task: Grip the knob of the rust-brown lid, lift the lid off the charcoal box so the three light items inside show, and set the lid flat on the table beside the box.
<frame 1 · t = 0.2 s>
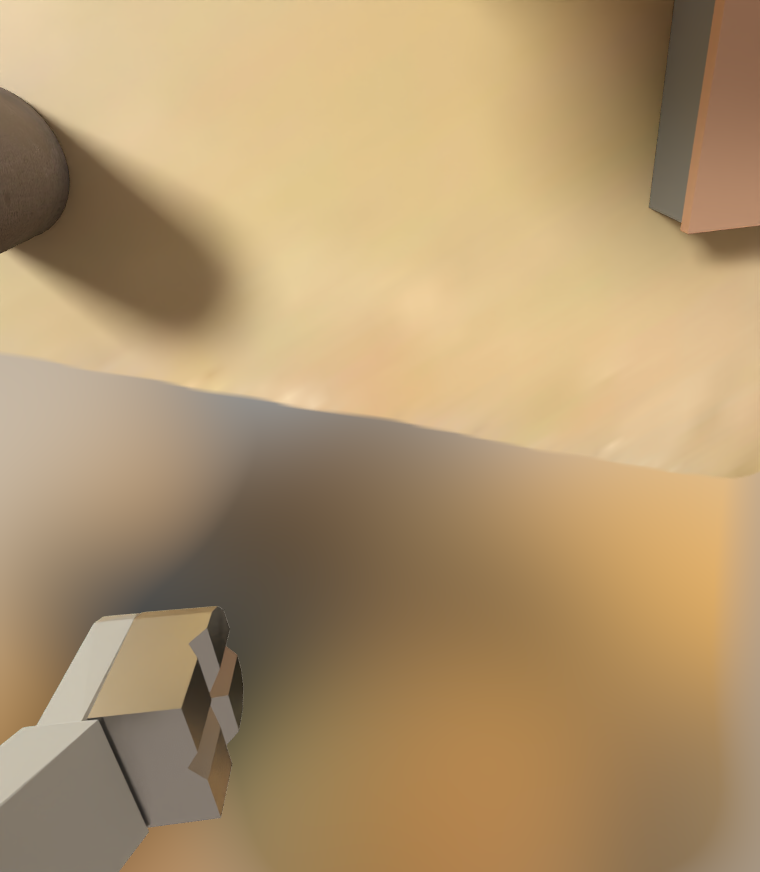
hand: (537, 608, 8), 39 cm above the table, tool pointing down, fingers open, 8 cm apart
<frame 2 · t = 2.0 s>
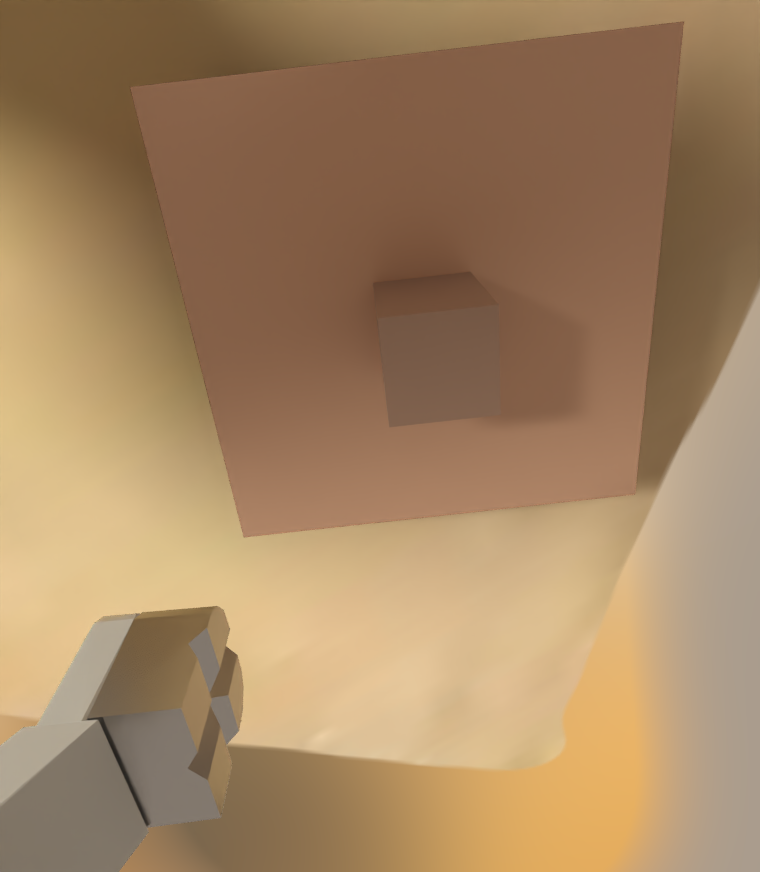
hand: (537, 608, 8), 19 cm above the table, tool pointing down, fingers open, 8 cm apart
lid: (421, 316, 20), point 5 cm above the table, touching storage box
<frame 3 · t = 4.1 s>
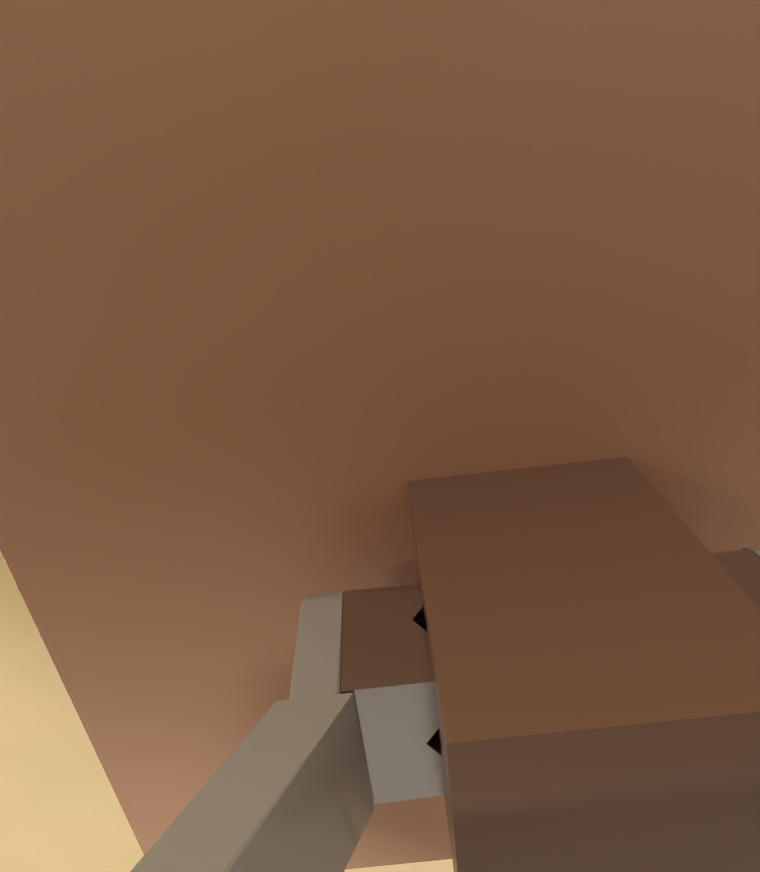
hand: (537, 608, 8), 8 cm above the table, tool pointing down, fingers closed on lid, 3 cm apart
lid: (502, 519, 10), point 5 cm above the table, touching gripper, storage box
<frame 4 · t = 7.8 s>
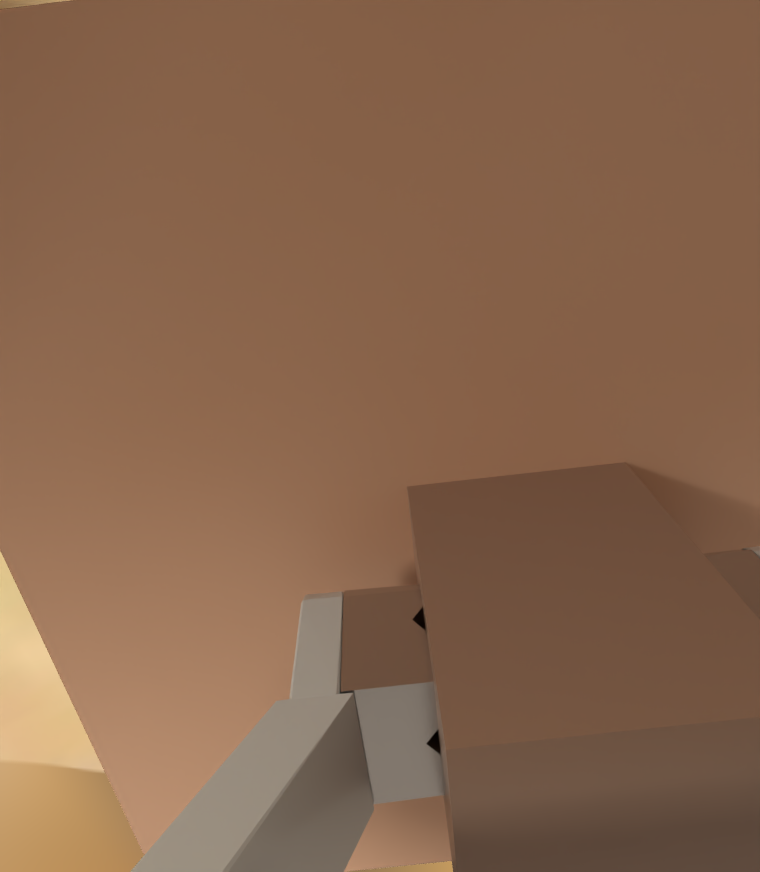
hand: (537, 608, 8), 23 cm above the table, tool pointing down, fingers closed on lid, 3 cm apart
lid: (501, 523, 10), point 21 cm above the table, touching gripper
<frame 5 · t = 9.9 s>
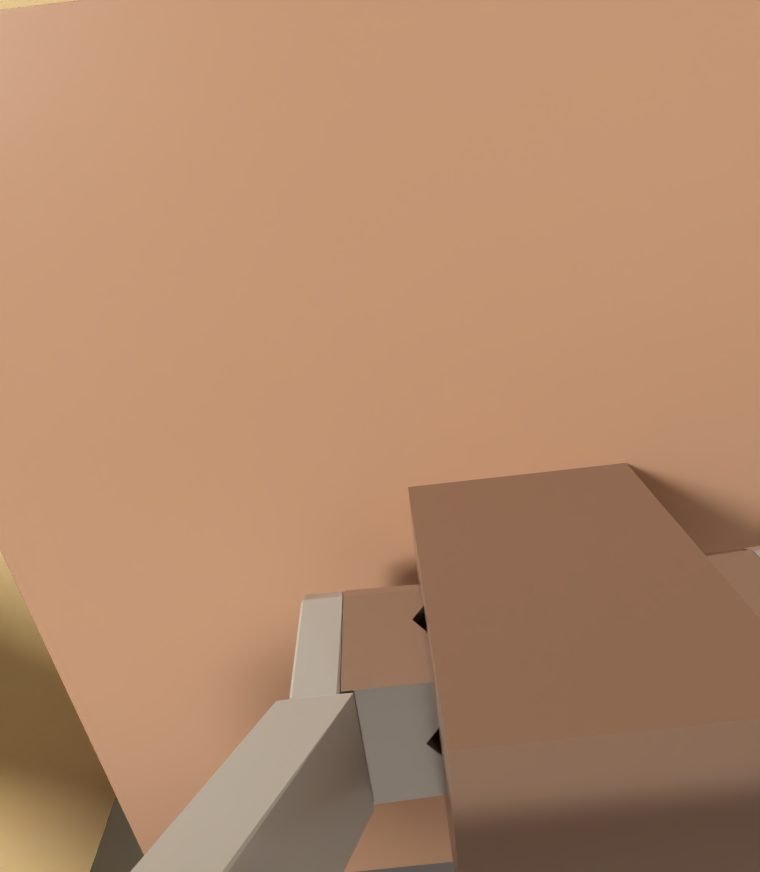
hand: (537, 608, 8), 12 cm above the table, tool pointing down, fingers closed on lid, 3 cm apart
lid: (502, 524, 10), point 10 cm above the table, touching gripper
storage box: (308, 833, 30), on the table
when the fingers open (4 cm above the table, at t = 11.8 s): lid drops 2 cm, on the table.
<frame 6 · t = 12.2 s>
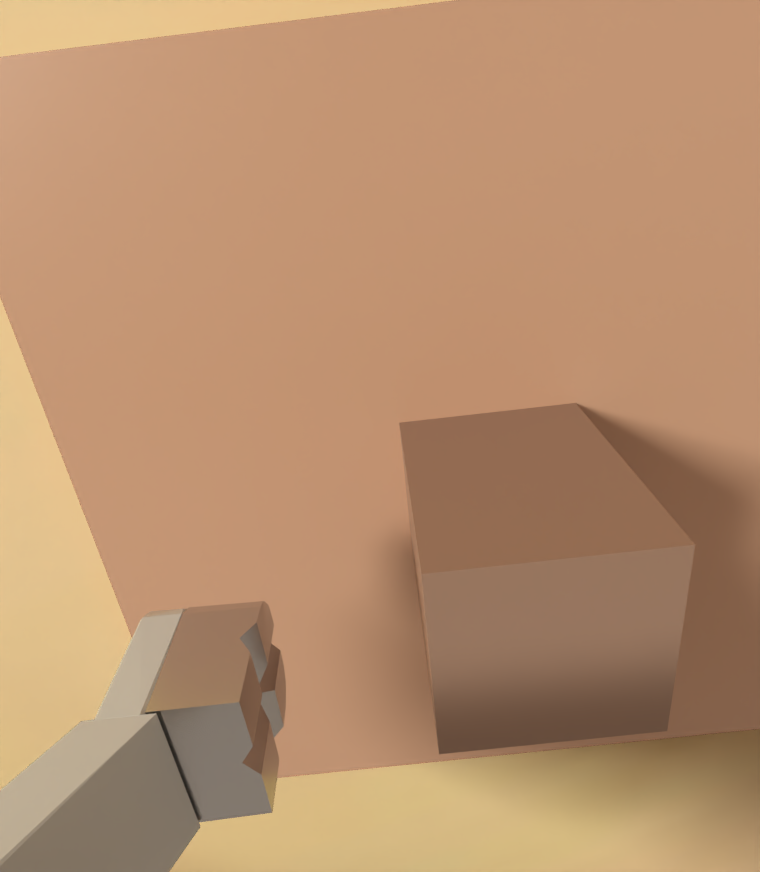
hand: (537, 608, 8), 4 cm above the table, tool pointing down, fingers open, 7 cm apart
lid: (479, 462, 12), on the table
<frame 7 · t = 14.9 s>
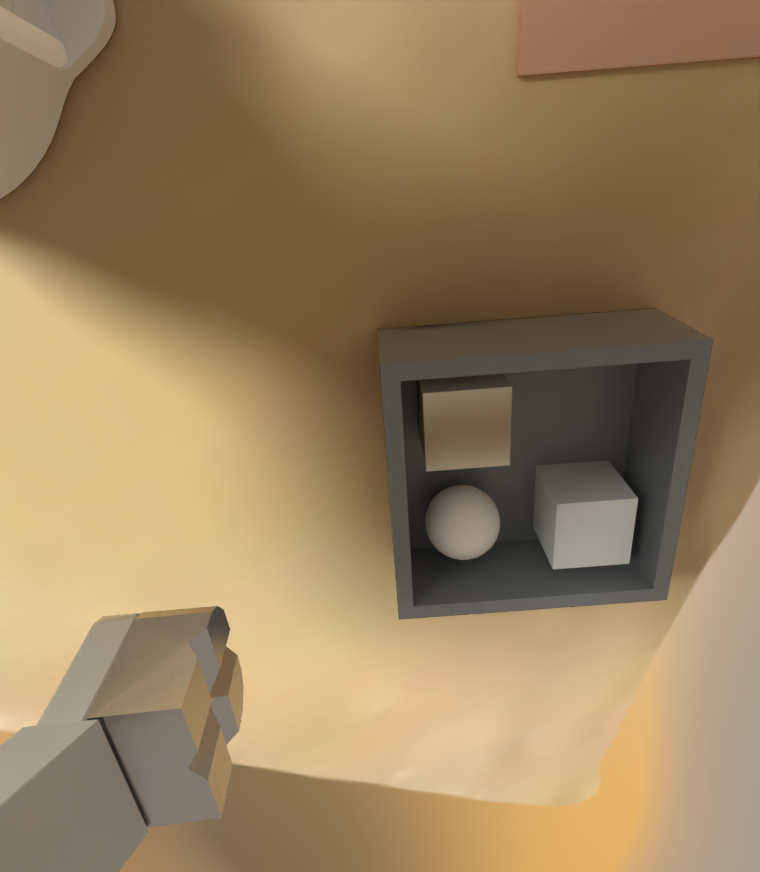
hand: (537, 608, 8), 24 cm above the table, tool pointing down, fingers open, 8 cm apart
off-white ball: (457, 502, 34), point 1 cm above the table, touching storage box
birch cube: (455, 397, 31), point 1 cm above the table, touching storage box
storage box: (512, 443, 33), on the table
grey-blue cube: (569, 493, 34), point 1 cm above the table, touching storage box
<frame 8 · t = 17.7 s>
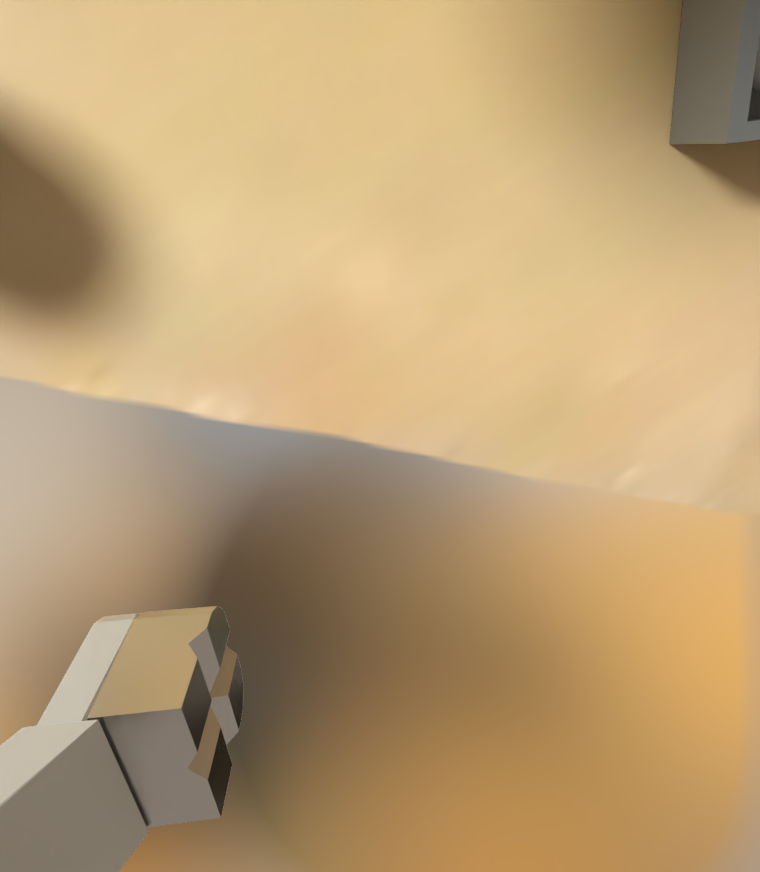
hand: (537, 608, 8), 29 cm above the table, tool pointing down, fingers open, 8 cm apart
off-white ball: (759, 50, 30), point 1 cm above the table, touching storage box
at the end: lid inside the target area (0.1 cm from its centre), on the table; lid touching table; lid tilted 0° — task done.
